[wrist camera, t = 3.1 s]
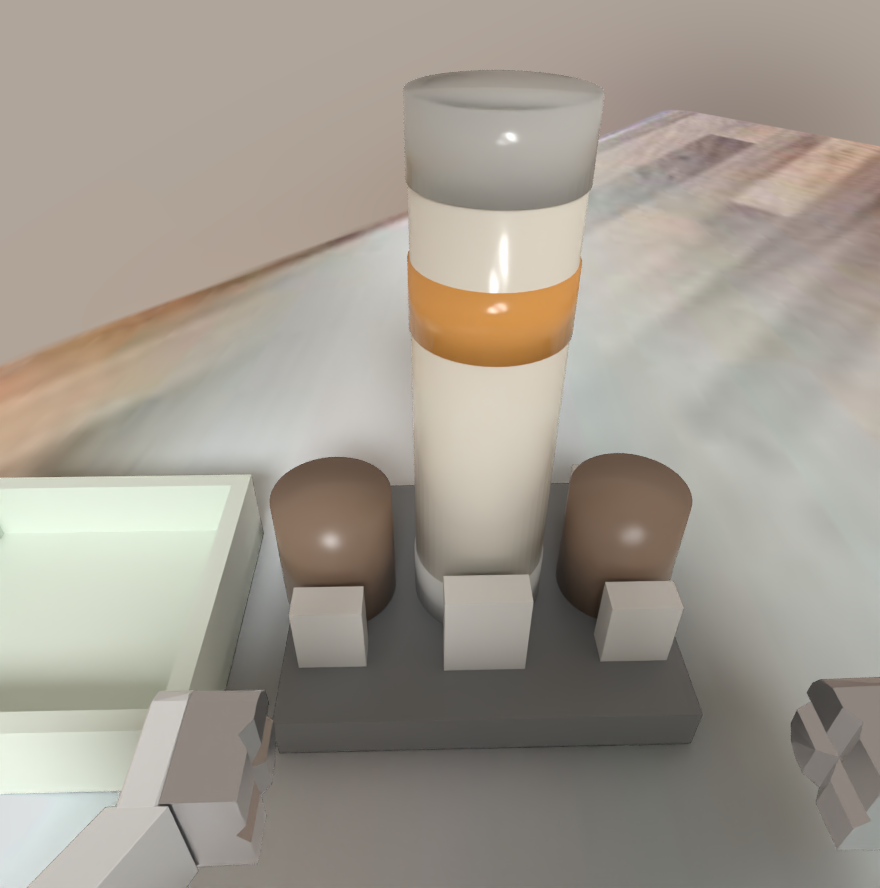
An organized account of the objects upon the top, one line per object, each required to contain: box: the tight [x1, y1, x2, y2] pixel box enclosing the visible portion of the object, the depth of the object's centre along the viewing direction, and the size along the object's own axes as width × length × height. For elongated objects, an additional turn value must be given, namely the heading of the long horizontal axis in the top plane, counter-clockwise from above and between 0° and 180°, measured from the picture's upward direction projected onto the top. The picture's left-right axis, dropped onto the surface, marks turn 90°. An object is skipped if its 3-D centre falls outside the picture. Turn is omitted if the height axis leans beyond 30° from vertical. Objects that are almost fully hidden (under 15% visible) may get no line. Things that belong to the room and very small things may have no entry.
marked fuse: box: [403, 70, 605, 623], centre depth 19 cm, size 4×4×15 cm
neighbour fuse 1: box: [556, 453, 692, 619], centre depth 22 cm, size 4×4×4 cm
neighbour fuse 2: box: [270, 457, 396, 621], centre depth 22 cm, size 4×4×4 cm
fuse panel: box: [273, 465, 703, 753], centre depth 23 cm, size 12×10×4 cm
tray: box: [0, 474, 263, 794], centre depth 22 cm, size 10×10×3 cm
